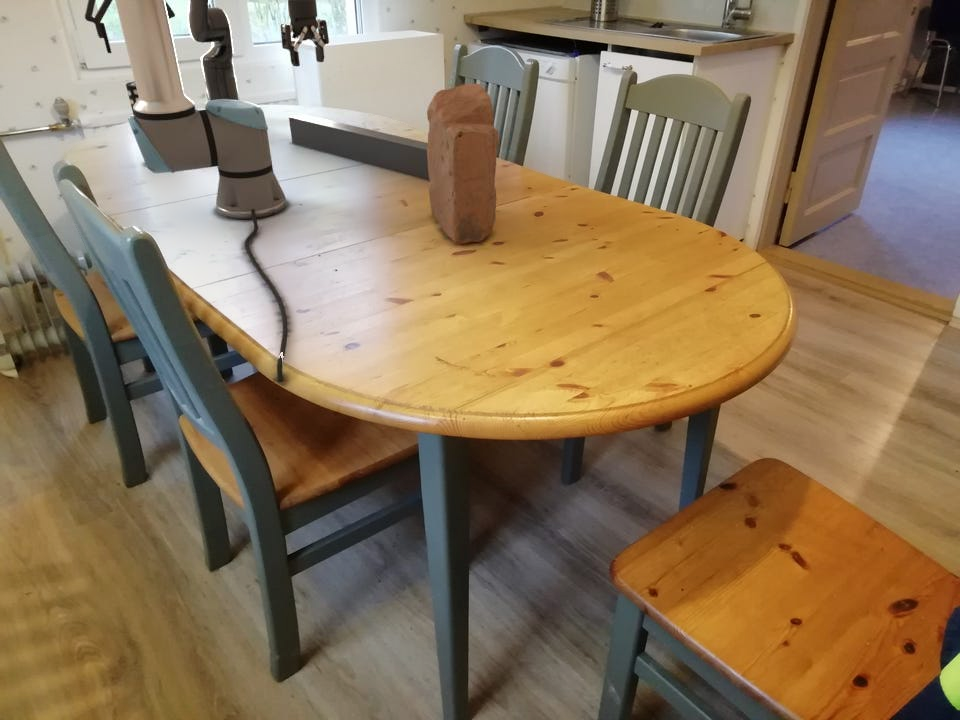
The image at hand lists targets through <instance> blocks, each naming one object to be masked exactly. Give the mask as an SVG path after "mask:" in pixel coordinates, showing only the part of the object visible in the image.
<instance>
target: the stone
mask: <svg viewBox="0 0 960 720" xmlns="http://www.w3.org/2000/svg"><path fill="white" fill-rule="evenodd" d="M426 110H427V111H426V114H427V120H428V133H427V143H428V147H427V158H428V172H429V178H430V180H429V181H430V183H429V186H428V195H429V196H428V197H429V206H430V210H431V213H432V215H433V216H434V218H435V220H436V222H437V223H438V224H439V225H440V227H441V229H442V231H443V232H444V233H445V235H446V236H447V238H450V239H451V240H452V242H453V243H455V244H463V245H464V244H468V243H475V242H482V241H484V240H485V238H487V236H488V235H491V234H492V232H493V231H494V230H493V229H494V225H495V223H496V215H497V214H496V209H497V200H498V199H497V198H498V197H497V188H496V184H495V183H496V179H495V178H496V174H497V173H496V170H497V157H498V149H499V144H500V143H499V142H500V141H499V139H500V135H499V130H497V129H496V128H495V125H494V108H493V104H492V99H491V97H490V95H489V93H487V92H486V89H485V88H484V87H483V86H482V84H480V83H465V84H461V85H457V86H453V87H451V88H448V89H447V88H446V89H440V90H438V91H437V92H436V93H435V94H434V95H433V97H432V99H431V101H430V103H429V104H428V106H427V109H426Z"/></svg>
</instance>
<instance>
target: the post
mask: <svg viewBox="0 0 960 720" xmlns="http://www.w3.org/2000/svg"><path fill="white" fill-rule="evenodd" d="M288 122H289V128H290V129H289V130H290V136H291V143H292V144H293V145H297V146H301V147H305V148H309V149H313V150H316V151H320V152H324V153H328V154H330V155H331V154H332V155H335V156H337V157H343V158H347V159H351V160H354V161H358V162H361V163H366V164H369V165H372V166H376V167H380V168H384V169H388V170H391V171H395V172H399V173H402V174H406V175H411V176H413V177H418V178H421V179H426V180H428V181H430V178H429V172H428V158H427V147H428V142H426V141H421V140H416V139H412V138H407V137H404V136H400V135H395V134H391V133H386V132H383V131H378V130H374V129H369V128H365V127H362V126H361V127H360V126H356V125H352V124H347V123H343V122H339V121H333V120H330V119H325V118H323V117H322V118H321V117H317V116H313V115H308V114H304V113H300V114H296V115H292V116H289V117H288Z"/></svg>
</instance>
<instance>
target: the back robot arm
mask: <svg viewBox="0 0 960 720" xmlns="http://www.w3.org/2000/svg"><path fill="white" fill-rule="evenodd" d="M209 5H210V0H188V6H187V28H188V30H189V31H188V33H189V34H190V36H191V38H192V39H193V41H194V42H196V43H198V44H210V43H211V47H210V49H209V50H208V51H206V53H204V54H203V55H202V56H201V57H200V62H201V69H202V73H203V77H204V82H205V87H206V88H205V89H206V92H205V93H206V94H205V95H206V100H207V101H210V100H217V99H229V100H240V95H239V94H240V93H239V90H238V84H237V77H236V72H235V66H234V46H233V39H232V30H231V29H232V28H231V25H230V20H229V18H228V15H227V13H226V12H225V10H224V9H222V8H220V7H216V6H215V7H209ZM286 8H287V15H288V18H289V20H290V22H289V24H287V23H281V24H280V35H281V37H280V38H281V47H282V49H284V50H287V51H288V52H289V57H290V63H291V65H292V66H293V67H295V68H296V67H300V66H301V64H300V55H299V54H300V53H299V51H298V49H299V47H300V46H301V44H302V43H303V42H304V41H307V40H309V41H311V42H312V43H313V44H314V48H315V49H314V50H315V57H316V58H315V59H316V62H317V63H324V62H325V49H324V47H325V46H326V45H329V43H330V38H329V31H328V25H327V20H325V19H317V18H318V8H317V0H286ZM195 109H196V110H198V109H197V108H195Z"/></svg>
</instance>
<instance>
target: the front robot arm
mask: <svg viewBox="0 0 960 720" xmlns="http://www.w3.org/2000/svg"><path fill="white" fill-rule="evenodd" d="M112 2H113V0H103V1H102V2H101V5H100V7H99V8H98V10H97V12H96V14H95V15H94V16H93V14H94V9H95V5H96V0H87V4H86V9H85V12H84V13H85V14H84V19H85V21H87V22H91V23H93V24H94V25H95V30H96V33H97V36H98V38H99V39H103V41H104V45H105V48H106V52H107V54H112V49H111V44H110V41H109V37H108V34H107V29H106V25H105V23H104V22H102V21H103V18H104V17H105V15H106V12H107V11H108V10H109V8H110V6H111V4H112ZM114 2H115V6H116V10H117V14H118V19H119V23H120V26H121V31H122V35H123V38H124V42H125V46H126V51H127V55H128V58H129V62H130V67H131V72H132V75H133V79H134V81H135V84H136V88H137V92H138V96H139V98H138V100H137V101H136V103H135V104H134V105H133V110H134V114H135V116H134V115H133V114H132V115H130V116H129V117H128V118H127V121H128V123H129V126H130V128H131V131H132V134H133V137H134V138H135V141H136V143H137V146H138V148H139V151H140V153H141V156H142V159H143V161H144V164H145V165H146V168H147V169H148V170H149V171H150V172H151V173H154V174H167V173H171V174H174V173H177V172H185V171H192V170H201V169H206V168H215V167H217V169H218V170H217V172H218V185H217V193H216V201H215V206H216V210H217V213H218V214H219V215H221V216H223V217H225V218H229V219H236V220H252V223H253V230H252V232H251V233H250V234H249V235H248V236H247V237H246V239H245V242H244V250H245V252H246V254H247V256H248V258H249V259H250V261H251V264H252V266H253V267H254V268H255V269H256V271H257V272H258V274H259V275H260V277H261V278H262V280H263V281H264V282H265V284H266V285H267V286H268V288H269V289H270V291H271V293H272V294H273V295H274V298H275V300H276V302H277V305H278V307H279V310H280V314H281V321H282V335H281V342H280V348H279V353H278V354H279V355H280V353H281V352H283V356H284V358H283V361H284V359H285V355H286V349H287V341H288V333H289V330H288V327H289V326H288V317H287V312H286V309H285V305H284V302H283V300H282V298H281V296H280V294H279V293H278V290H277V289H276V286H274V284H273V283H272V282H271V280H270V279H269V277H268V276H267V275H266V273H265V271H263V269H262V268H261V266H260V265H259V264H258V262H257V260H256V258H255V257H254V254H253V253H252V251H251V249H250V242H251V240H252V239H253V238H254V237H255V235H256V234H257V232H258V230H259V225H258V221H257V219H260V218H261V219H262V218H265V217H266V218H267V217H270V216H274V215H276V214H278V213H280V212H282V211H283V210H285V209H286V207H287V199H286V194H285V193H284V191H283V189H282V187H281V184H280V182H279V180H278V179H277V177H276V175H275V172H274V167H273V160H272V154H271V148H270V140H269V135H268V125H267V121H266V116H265V113H264V110H263V109H262V108H261V107H260V106H259V105H258V104H255V103H253V102H249V101H245V100H240V99H239V100H229V99H217V100H210V101H208V100H207V101H206V102H205V105H204V109H197V108H196V106H195V102H194V101H193V99H191V98H190V97H188V96H187V95H186V94H185V90H184V85H183V81H182V75H181V71H180V67H179V62H178V57H177V53H176V48H175V47H176V46H175V43H174V38H173V33H172V28H171V23H170V19H172V18H175V17H176V14H175V12H174V10H173V9H172V7H171V6H170V5H169V3H168V2H167V0H114ZM196 109H197V110H196ZM279 355H278V356H279ZM278 358H279V357H278ZM278 358H277V362H276V377H277V382H278V383H282V382H284V374H283V365H282V358H281V356H280V358H279V359H278Z"/></svg>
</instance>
